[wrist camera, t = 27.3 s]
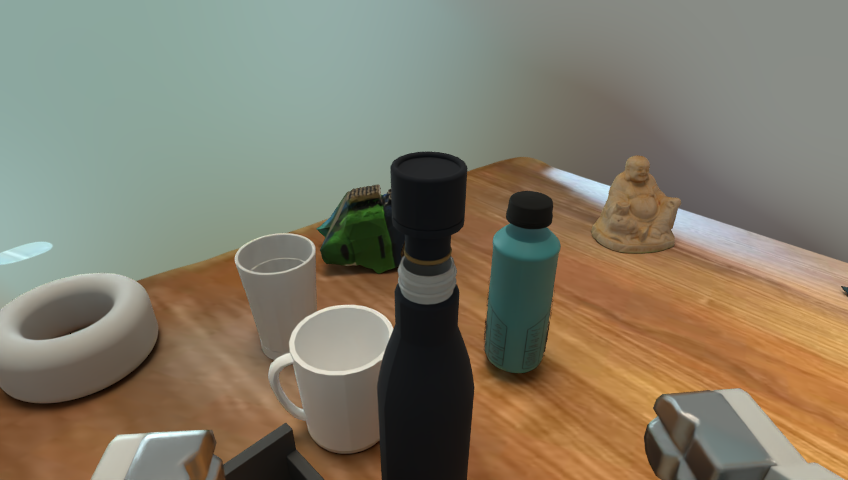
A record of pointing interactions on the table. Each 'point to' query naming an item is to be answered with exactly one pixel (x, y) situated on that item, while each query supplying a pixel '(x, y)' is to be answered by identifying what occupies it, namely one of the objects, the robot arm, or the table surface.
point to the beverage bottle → (521, 284)
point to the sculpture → (363, 231)
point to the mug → (336, 375)
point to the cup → (278, 286)
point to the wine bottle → (426, 329)
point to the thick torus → (74, 337)
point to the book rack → (271, 460)
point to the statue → (636, 212)
